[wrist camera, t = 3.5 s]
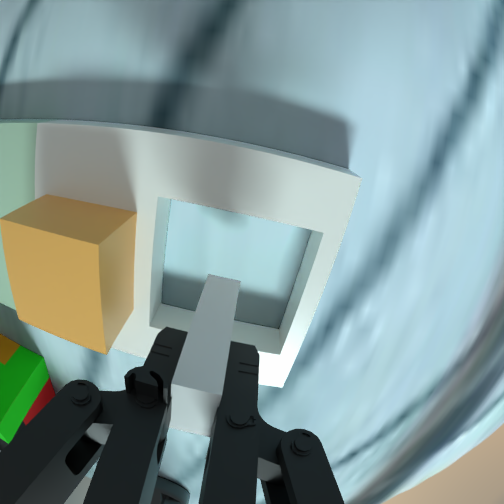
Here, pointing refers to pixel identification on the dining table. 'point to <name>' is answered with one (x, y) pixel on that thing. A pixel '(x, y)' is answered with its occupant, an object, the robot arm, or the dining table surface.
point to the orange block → (71, 268)
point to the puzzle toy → (20, 388)
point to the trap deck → (187, 190)
